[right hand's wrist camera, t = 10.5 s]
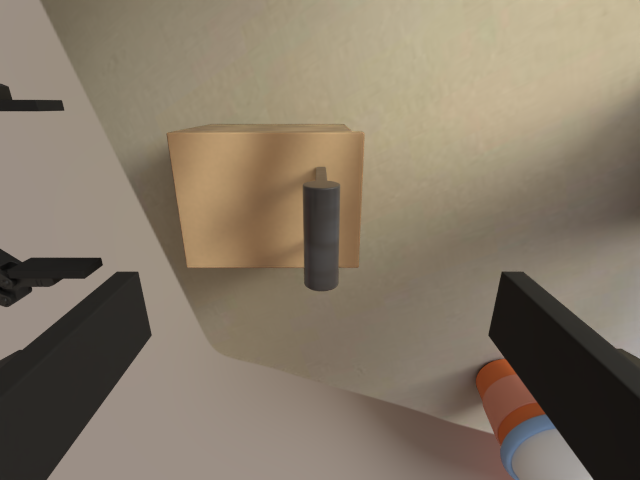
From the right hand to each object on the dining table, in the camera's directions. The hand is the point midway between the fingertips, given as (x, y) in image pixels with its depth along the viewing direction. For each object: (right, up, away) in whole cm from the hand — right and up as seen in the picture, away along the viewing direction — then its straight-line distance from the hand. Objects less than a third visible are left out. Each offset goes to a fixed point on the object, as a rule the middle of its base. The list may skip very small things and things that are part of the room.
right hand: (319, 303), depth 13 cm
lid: (-4, +5, +14) cm, 15 cm away
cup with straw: (+23, -15, +31) cm, 41 cm away
